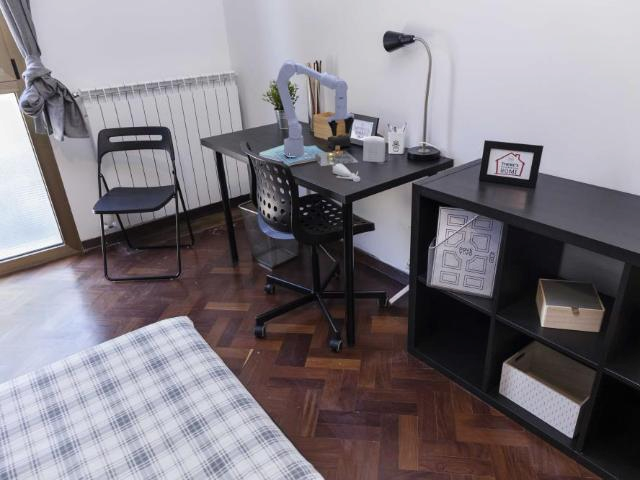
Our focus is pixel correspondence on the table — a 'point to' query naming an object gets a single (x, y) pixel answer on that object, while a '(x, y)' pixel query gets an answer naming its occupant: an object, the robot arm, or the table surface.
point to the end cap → (339, 141)
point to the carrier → (333, 158)
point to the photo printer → (374, 149)
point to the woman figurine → (345, 173)
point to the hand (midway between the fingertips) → (340, 134)
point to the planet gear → (338, 150)
